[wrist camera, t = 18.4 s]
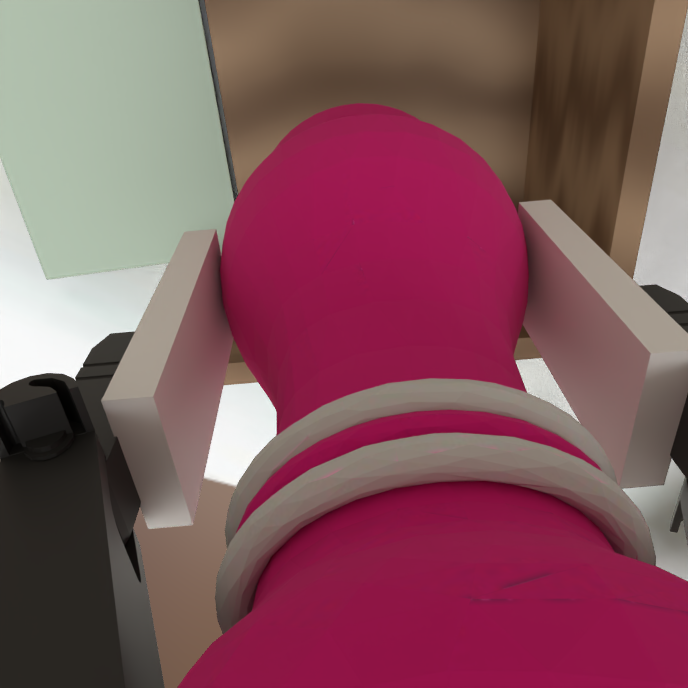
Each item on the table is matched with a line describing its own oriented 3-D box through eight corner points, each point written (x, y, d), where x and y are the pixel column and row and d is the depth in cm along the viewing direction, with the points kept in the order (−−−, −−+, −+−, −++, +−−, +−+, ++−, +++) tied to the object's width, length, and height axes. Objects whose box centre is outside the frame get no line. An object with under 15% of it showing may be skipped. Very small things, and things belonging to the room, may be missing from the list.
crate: (530, 240, 40) (618, 351, 28) (231, 266, 40) (198, 387, 28) (567, -143, 29) (732, -215, 18) (160, -106, 29) (59, -154, 18)
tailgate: (243, 252, 38) (46, 279, 36) (242, 241, 39) (53, 267, 38) (185, -70, 29) (-78, -49, 28) (187, -68, 30) (-63, -48, 29)
